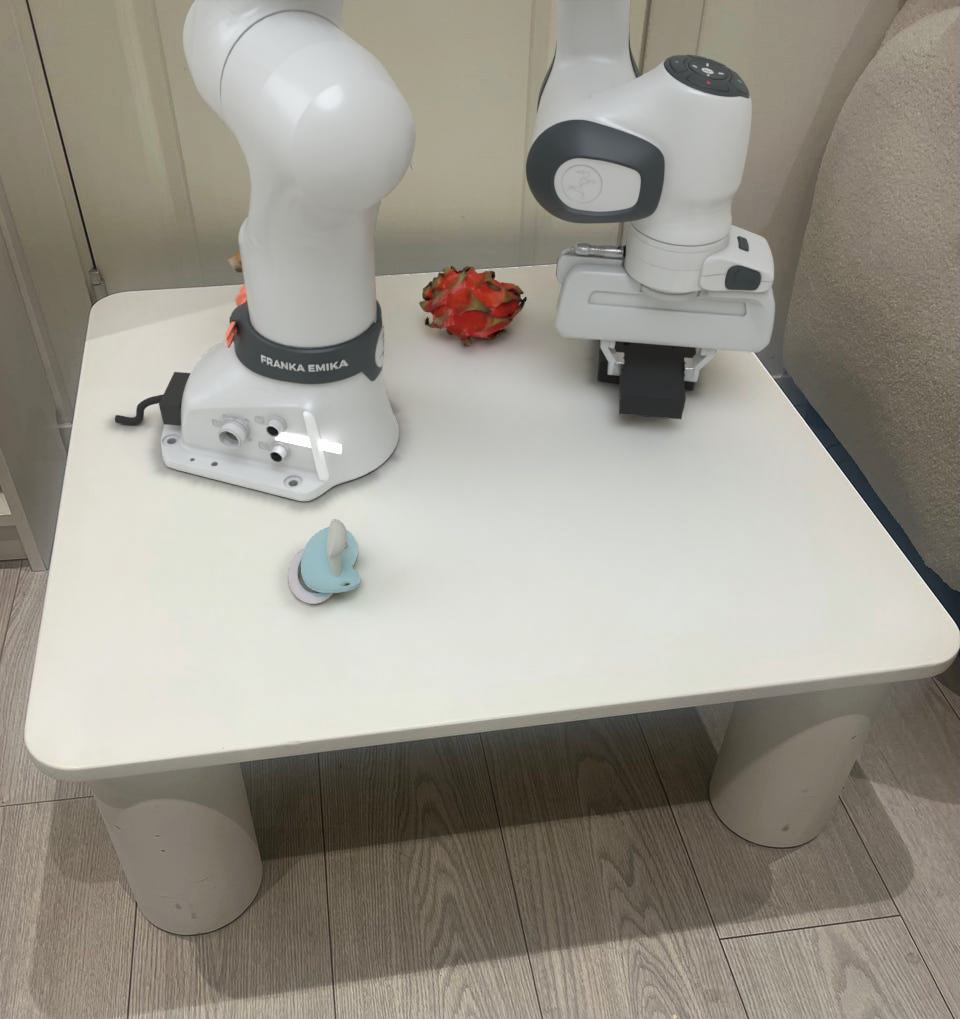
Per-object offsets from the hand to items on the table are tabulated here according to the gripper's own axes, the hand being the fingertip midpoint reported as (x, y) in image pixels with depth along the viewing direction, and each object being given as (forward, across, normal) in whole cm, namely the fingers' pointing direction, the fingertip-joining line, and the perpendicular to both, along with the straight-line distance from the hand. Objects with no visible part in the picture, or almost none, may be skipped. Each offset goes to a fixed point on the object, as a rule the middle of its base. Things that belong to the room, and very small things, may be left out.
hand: (652, 375), depth 100 cm
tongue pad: (+2, 0, +1) cm, 2 cm away
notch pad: (+4, 0, +10) cm, 11 cm away
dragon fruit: (+4, -19, +11) cm, 22 cm away
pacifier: (+4, -28, -27) cm, 39 cm away
